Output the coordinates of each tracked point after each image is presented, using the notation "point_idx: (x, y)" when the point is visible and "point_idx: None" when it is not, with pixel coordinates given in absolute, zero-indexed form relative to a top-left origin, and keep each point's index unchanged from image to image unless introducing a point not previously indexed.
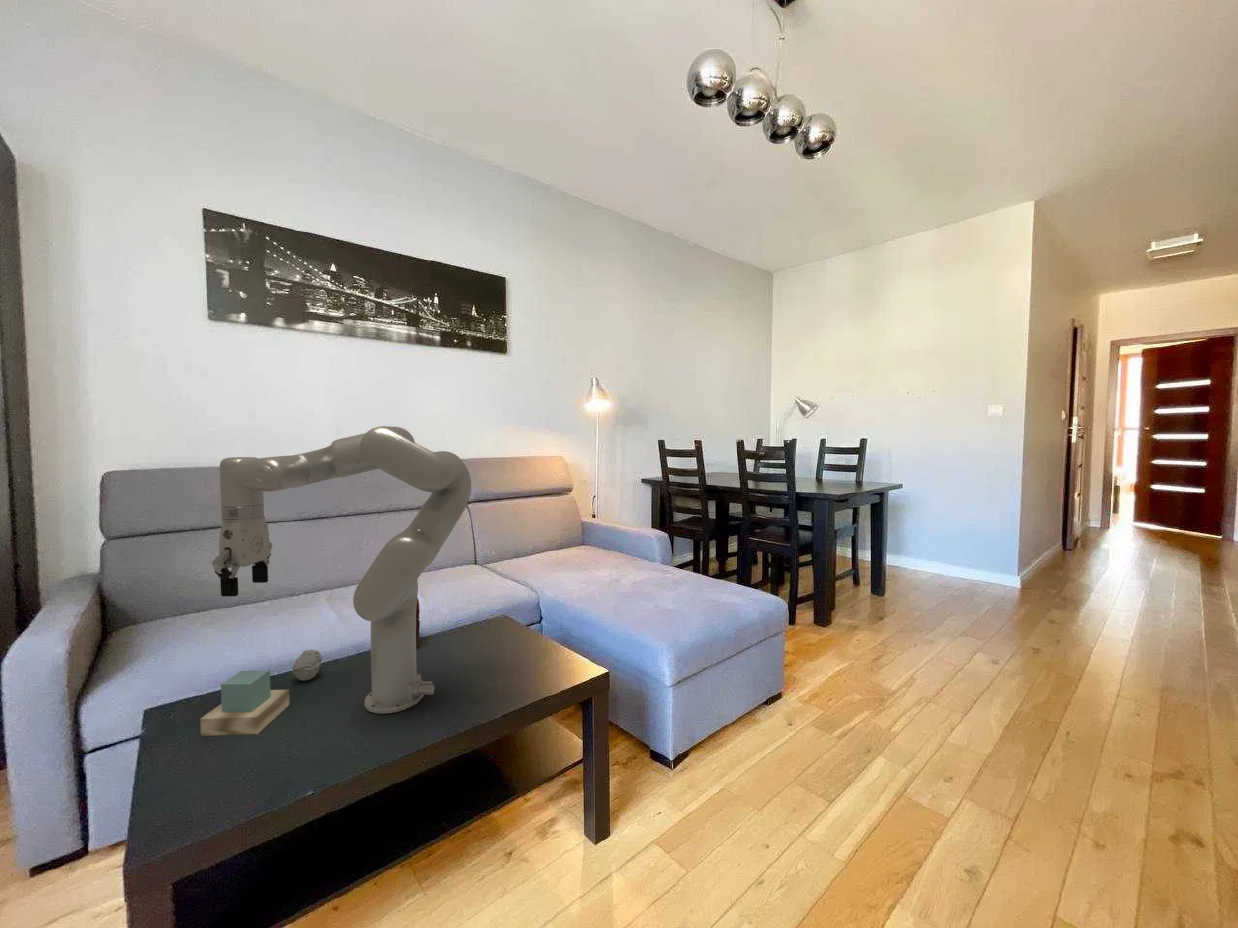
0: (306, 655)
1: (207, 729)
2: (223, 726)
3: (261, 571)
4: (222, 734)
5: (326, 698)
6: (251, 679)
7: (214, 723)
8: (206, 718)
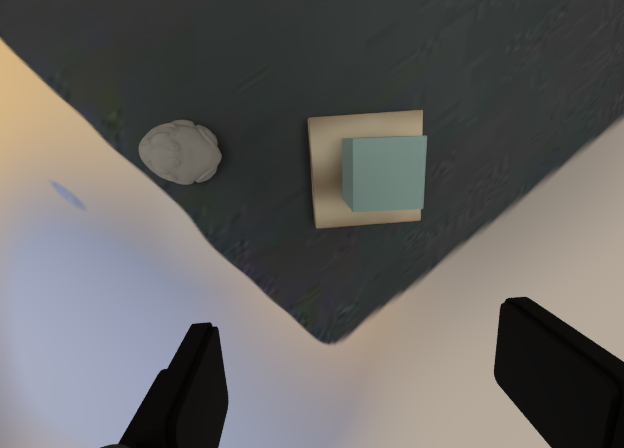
0: (183, 151)
1: None
2: None
3: (197, 414)
4: None
5: (280, 47)
6: (402, 151)
7: None
8: (420, 209)
